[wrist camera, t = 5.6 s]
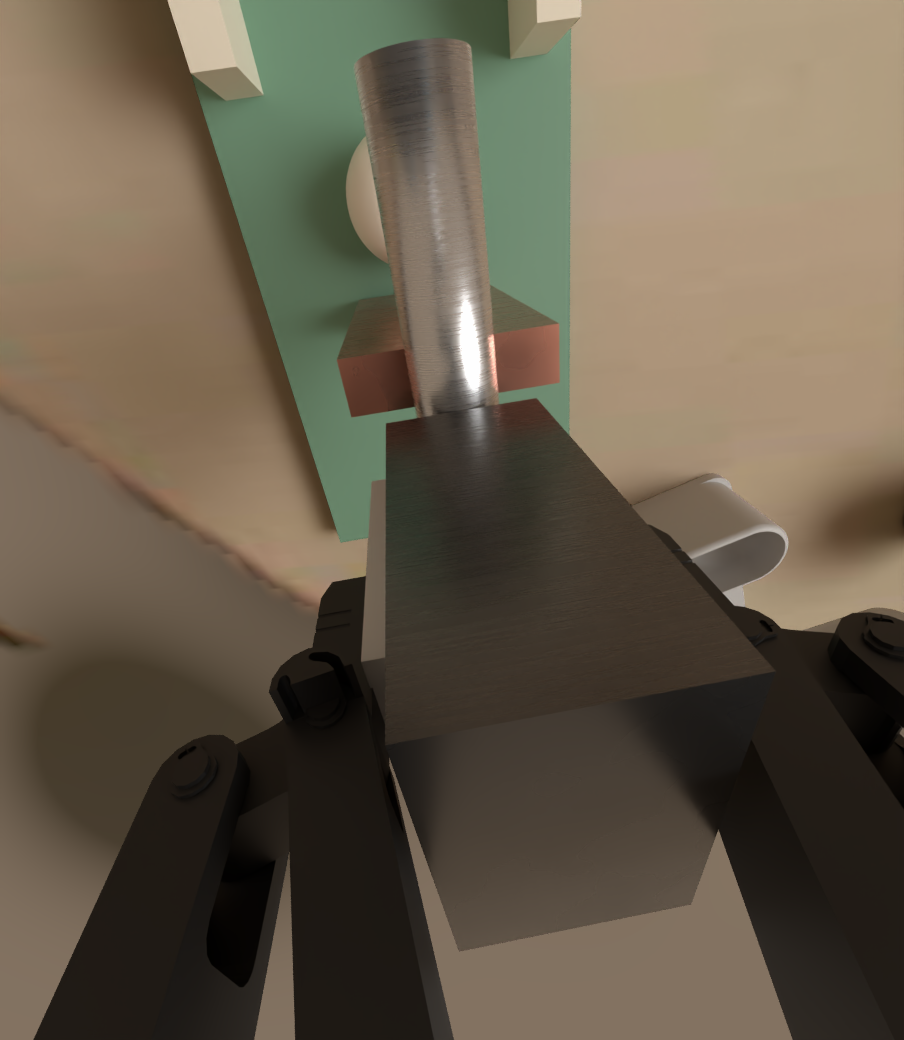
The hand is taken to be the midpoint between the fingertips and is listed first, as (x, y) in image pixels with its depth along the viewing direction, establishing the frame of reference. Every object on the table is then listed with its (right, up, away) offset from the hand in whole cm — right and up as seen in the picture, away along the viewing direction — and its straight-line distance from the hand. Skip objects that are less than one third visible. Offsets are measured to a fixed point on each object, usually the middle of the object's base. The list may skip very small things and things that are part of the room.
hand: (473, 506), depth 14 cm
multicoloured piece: (-2, +10, +9) cm, 14 cm away
